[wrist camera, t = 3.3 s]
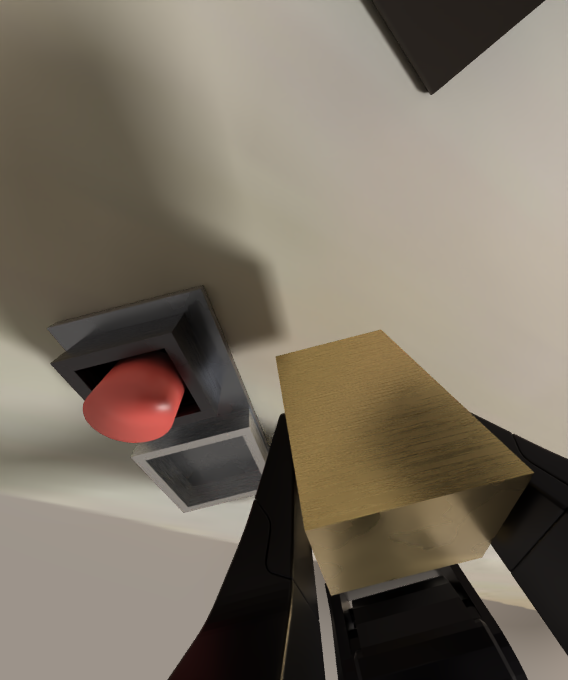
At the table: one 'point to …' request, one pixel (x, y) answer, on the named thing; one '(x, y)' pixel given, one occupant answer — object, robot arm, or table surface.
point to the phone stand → (449, 31)
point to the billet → (390, 464)
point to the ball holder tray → (197, 402)
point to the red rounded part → (136, 398)
